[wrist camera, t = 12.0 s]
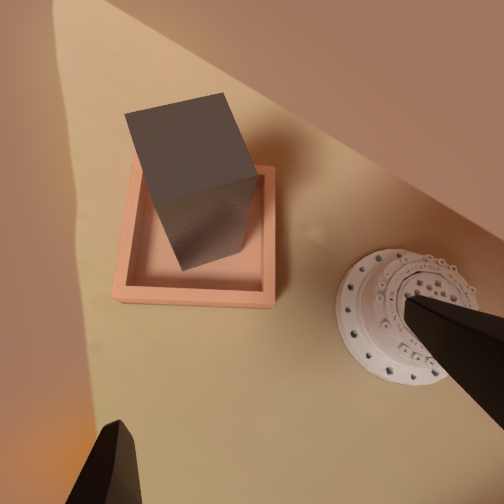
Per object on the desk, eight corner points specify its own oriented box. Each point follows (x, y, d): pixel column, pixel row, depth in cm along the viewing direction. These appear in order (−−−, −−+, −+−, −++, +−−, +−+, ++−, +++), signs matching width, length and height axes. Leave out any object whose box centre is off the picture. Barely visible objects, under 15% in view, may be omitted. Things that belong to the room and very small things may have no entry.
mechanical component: (467, 285, 26) (356, 234, 26) (515, 272, 22) (383, 212, 22) (440, 407, 23) (315, 347, 23) (491, 419, 19) (337, 346, 19)
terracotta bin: (269, 309, 23) (275, 304, 21) (121, 303, 22) (110, 297, 20) (270, 182, 27) (275, 166, 24) (141, 173, 26) (133, 154, 23)
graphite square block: (240, 252, 24) (258, 174, 13) (182, 271, 23) (153, 204, 12) (220, 201, 25) (223, 92, 14) (164, 217, 24) (124, 113, 14)
